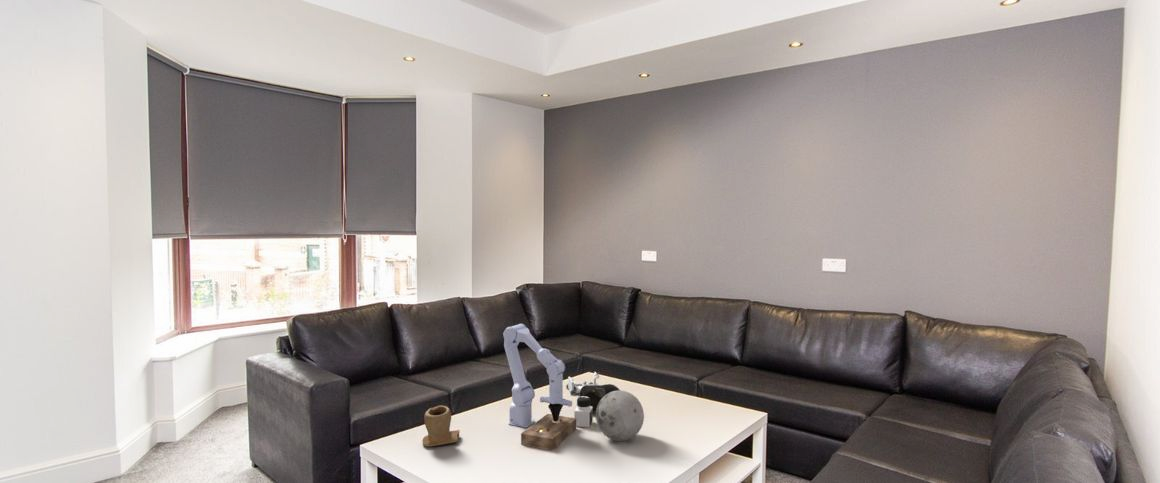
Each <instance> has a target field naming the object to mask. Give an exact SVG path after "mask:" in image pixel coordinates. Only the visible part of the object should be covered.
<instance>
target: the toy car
mask: <svg viewBox="0 0 1160 483" xmlns="http://www.w3.org/2000/svg"><path fill="white" fill-rule="evenodd" d="M599 374H600V371H598V373H597V372H596V371H594V374H593V382H591V381H590V382H589V383H588V384H587V381H586V380H584V382H583V383H576V382H575V380H574V379H573V378H572V377H571V376H568V377H567V384H566V386H565V387H566V389H567V390H569V391H570V392H569V394H570V395H571V396H576V394H580V391H581V388H582V387H583V386H585V385H599V384H598V382H597V380H598V379H599V378H601V375H599Z"/></svg>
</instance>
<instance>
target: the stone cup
mask: <svg viewBox="0 0 1160 483" xmlns="http://www.w3.org/2000/svg"><path fill="white" fill-rule="evenodd" d="M423 417H424V425H425V428H426V431H427V435H425V436H424V437H422V440H421V441H422V444H423V445H424V446H425V447H436V446H442V445H449V444H453V443H456V442H458V441H459V438H460V433H461V432H460V429H456V430H450V428H451V421H452V412H451V409H450V408H449V407H448V406H446V405H437V406H434V407H430V408H428V410H426V411H425V413H424V415H423Z"/></svg>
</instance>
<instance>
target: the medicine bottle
mask: <svg viewBox="0 0 1160 483" xmlns="http://www.w3.org/2000/svg"><path fill="white" fill-rule="evenodd" d="M573 412H574V413H573V415H574V417H573V418H576V428H577V427H578V428H591V426H592V424H593V421H594V418H593V415H594V413H593V407H591V406H590V398H589V397H585V396H582V397H580V396H578V397H577V399H576V408H575V409H574V411H573Z"/></svg>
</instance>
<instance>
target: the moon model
mask: <svg viewBox="0 0 1160 483" xmlns="http://www.w3.org/2000/svg"><path fill="white" fill-rule="evenodd" d="M644 420H645V413H644V408H643V406H642V403H641V402H640V400H639V399H638V398H637V396H635V395H634V394H633V393H631V392H628V391H626V390H621V389H619V390H618V391H612V392H610V393H608V394H606V395H605V396H604V397H603V398H602V399H601V400H600V402H599V404H598V406H597V409H596V412H595V421H596V424H597V426H598V429H599V430H600V432H601V433H602V434H603V435H604V436H605V437H607V438H608V439H610V440H611V441H612V440H613V441H617V442H624V441H627V440H628V441H629V440H631V439H633V438H634V437H636V435H637V434H638V433H639V432H640V431H641V429H642V427H643V424H644Z"/></svg>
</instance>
